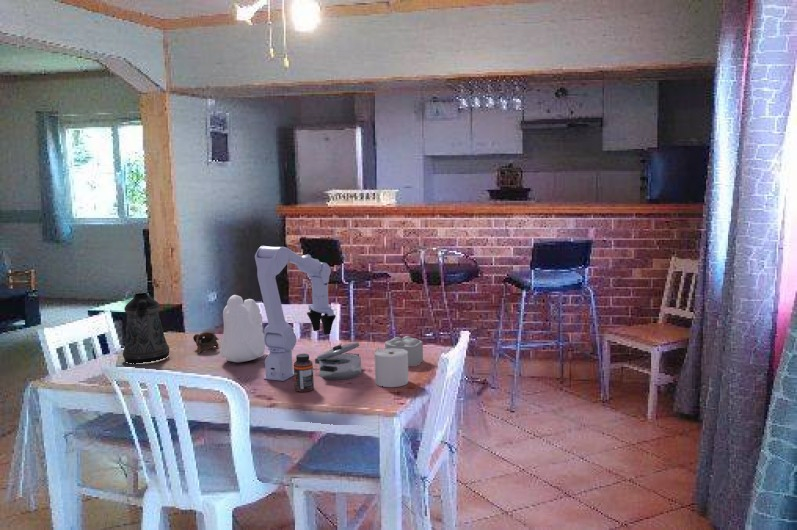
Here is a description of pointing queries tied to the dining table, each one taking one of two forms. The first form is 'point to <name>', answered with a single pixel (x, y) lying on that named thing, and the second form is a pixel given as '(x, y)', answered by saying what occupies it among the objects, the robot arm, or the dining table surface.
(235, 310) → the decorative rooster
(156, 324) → the dark grey flared piece
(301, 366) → the supplement bottle
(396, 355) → the toilet tissue
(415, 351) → the grey lumpy container
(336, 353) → the cooker lid
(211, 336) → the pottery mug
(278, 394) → the dining table surface
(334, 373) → the cooker pot
